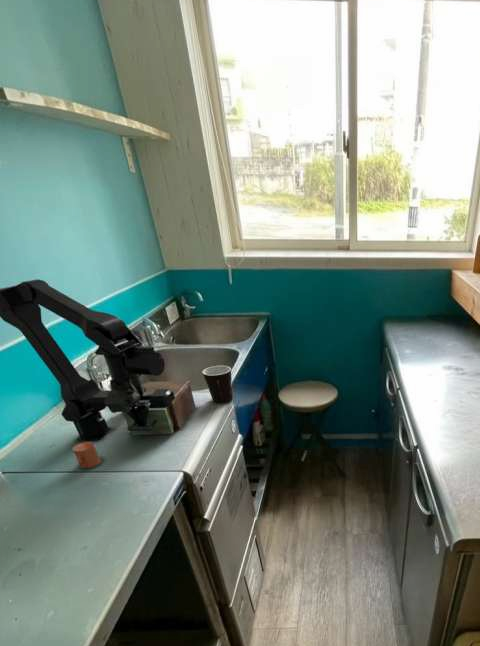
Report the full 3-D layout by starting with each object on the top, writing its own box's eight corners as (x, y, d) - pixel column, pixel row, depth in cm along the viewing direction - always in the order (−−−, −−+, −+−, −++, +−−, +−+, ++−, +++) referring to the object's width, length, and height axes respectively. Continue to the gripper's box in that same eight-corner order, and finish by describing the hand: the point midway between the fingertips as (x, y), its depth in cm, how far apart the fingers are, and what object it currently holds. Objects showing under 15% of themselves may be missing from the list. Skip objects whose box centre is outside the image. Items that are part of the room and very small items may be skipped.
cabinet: (179, 430, 112) (171, 400, 107) (135, 431, 112) (124, 401, 107) (196, 408, 124) (188, 380, 119) (156, 408, 124) (147, 381, 119)
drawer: (165, 442, 105) (157, 418, 101) (122, 443, 104) (112, 419, 100) (188, 412, 120) (182, 389, 116) (150, 412, 120) (143, 390, 116)
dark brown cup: (216, 393, 134) (210, 365, 128) (240, 394, 133) (235, 366, 127) (200, 408, 124) (192, 378, 119) (226, 409, 123) (219, 379, 118)
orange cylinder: (104, 458, 100) (96, 441, 97) (92, 471, 95) (84, 453, 93) (86, 459, 100) (78, 442, 97) (74, 471, 95) (65, 454, 92)
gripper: (65, 385, 89) (92, 444, 98) (148, 383, 90) (168, 442, 98) (91, 368, 98) (114, 423, 107) (166, 366, 99) (183, 422, 107)
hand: (144, 428), depth 105 cm, fingers closed
